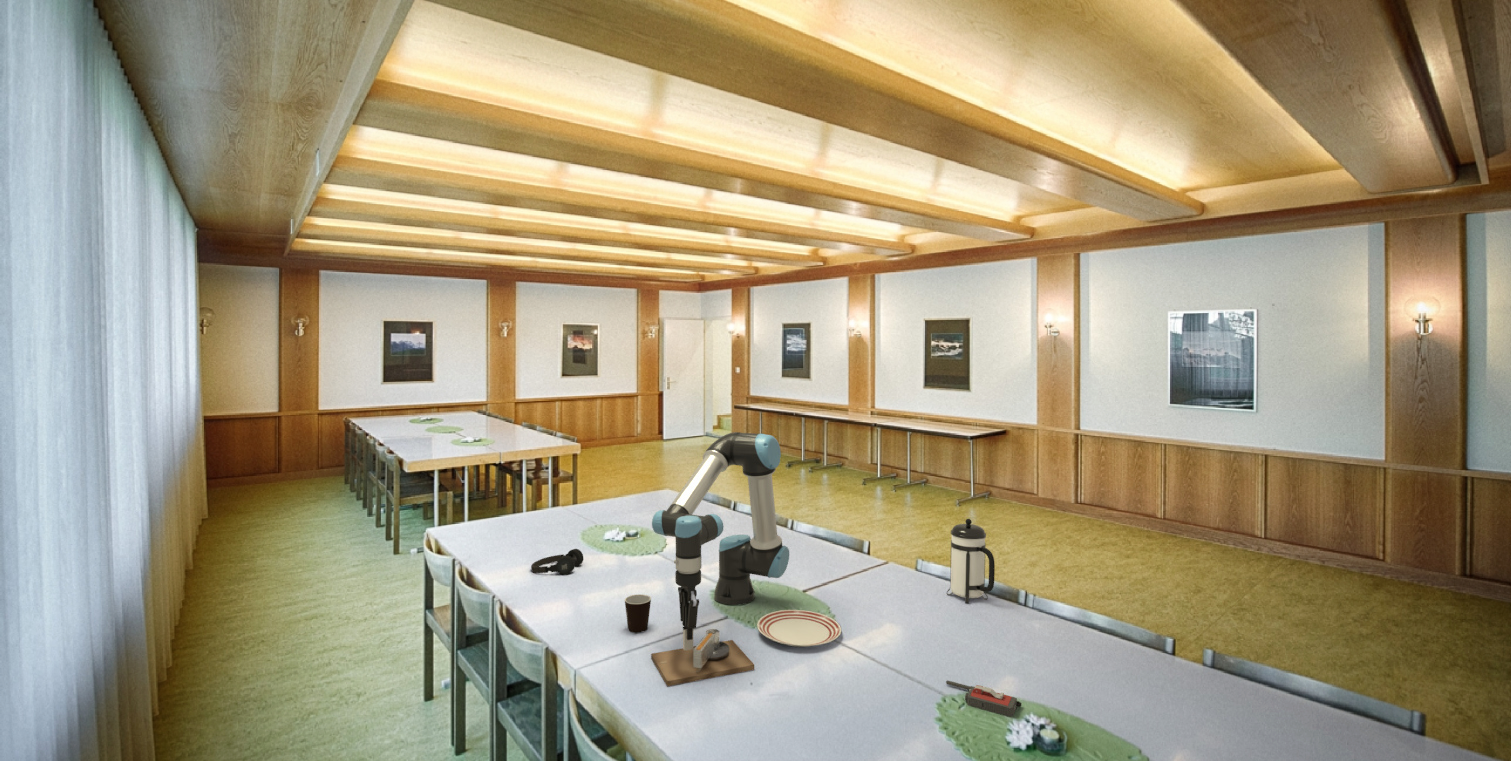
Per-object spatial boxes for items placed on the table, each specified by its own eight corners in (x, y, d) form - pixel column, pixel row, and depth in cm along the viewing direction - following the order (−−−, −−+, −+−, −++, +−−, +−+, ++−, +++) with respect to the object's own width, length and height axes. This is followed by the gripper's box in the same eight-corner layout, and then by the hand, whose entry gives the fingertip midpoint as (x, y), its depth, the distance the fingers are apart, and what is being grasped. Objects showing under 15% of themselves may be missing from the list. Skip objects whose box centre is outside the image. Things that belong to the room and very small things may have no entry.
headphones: (569, 557, 269) (523, 563, 272) (571, 575, 270) (526, 580, 272) (584, 546, 286) (541, 551, 289) (587, 562, 286) (544, 567, 289)
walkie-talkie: (1023, 705, 174) (947, 685, 184) (1023, 688, 174) (947, 669, 184) (1016, 720, 166) (937, 698, 177) (1017, 703, 166) (938, 682, 177)
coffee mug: (645, 635, 214) (645, 605, 214) (620, 632, 216) (620, 602, 215) (657, 621, 225) (657, 592, 225) (634, 619, 227) (634, 590, 227)
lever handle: (702, 643, 204) (702, 622, 204) (733, 647, 201) (733, 626, 201) (680, 670, 187) (680, 647, 186) (714, 675, 184) (714, 651, 184)
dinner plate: (848, 624, 224) (848, 615, 224) (831, 659, 198) (831, 649, 198) (771, 613, 233) (771, 604, 233) (745, 646, 207) (745, 635, 207)
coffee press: (944, 601, 246) (945, 522, 244) (948, 587, 260) (950, 512, 259) (993, 608, 239) (995, 527, 238) (995, 594, 254) (997, 517, 253)
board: (732, 644, 208) (732, 639, 208) (754, 669, 191) (754, 664, 191) (651, 658, 198) (651, 653, 198) (667, 686, 181) (667, 680, 181)
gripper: (669, 564, 198) (669, 641, 199) (682, 578, 186) (682, 660, 187) (693, 561, 201) (693, 637, 202) (707, 575, 189) (707, 655, 190)
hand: (688, 648), depth 194 cm, fingers closed
